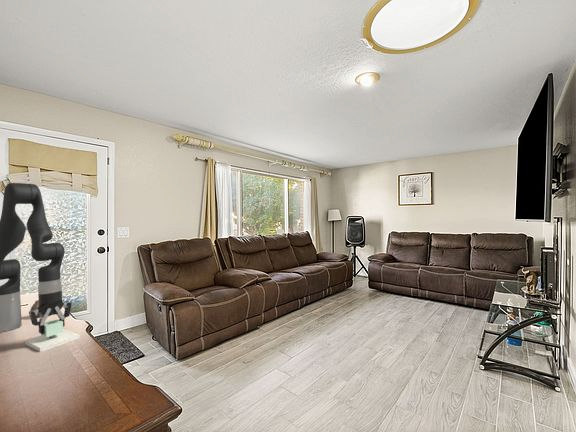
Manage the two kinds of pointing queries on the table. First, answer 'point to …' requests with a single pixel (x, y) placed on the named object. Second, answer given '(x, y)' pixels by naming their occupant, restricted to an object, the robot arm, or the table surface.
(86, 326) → the table surface
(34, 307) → the vase
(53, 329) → the collar
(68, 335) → the plate
